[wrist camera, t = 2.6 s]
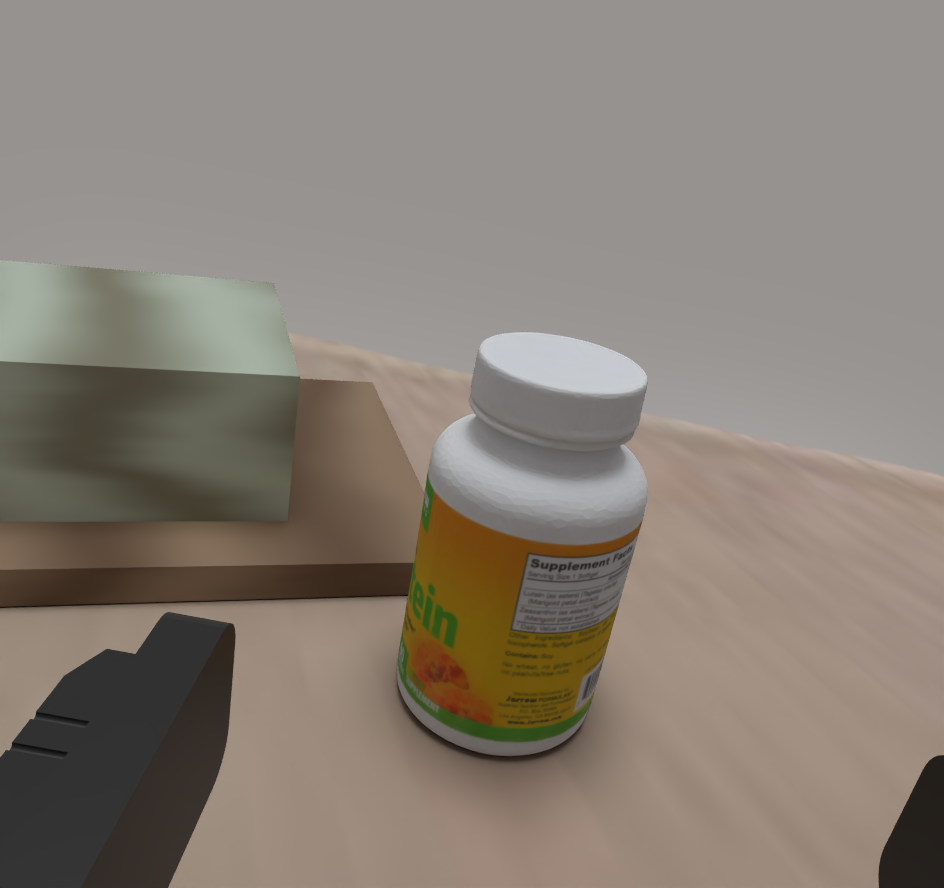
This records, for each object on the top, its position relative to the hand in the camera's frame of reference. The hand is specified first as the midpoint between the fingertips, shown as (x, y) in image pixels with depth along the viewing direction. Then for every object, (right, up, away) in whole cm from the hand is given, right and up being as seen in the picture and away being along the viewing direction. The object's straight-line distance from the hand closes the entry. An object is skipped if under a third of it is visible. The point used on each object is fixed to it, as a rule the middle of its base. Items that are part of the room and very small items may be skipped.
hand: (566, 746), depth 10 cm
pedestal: (-13, +2, +21) cm, 25 cm away
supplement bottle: (-1, -3, +14) cm, 14 cm away
